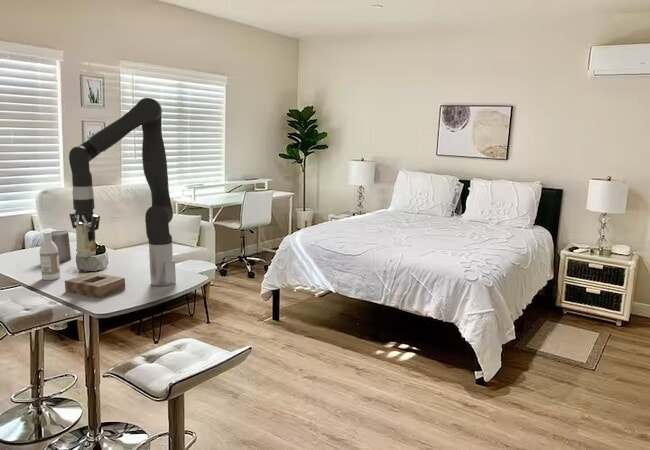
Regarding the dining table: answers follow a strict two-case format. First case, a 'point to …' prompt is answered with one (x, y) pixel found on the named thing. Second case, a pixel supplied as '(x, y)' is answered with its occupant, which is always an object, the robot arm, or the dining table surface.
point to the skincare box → (84, 242)
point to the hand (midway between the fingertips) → (86, 239)
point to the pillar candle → (62, 244)
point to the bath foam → (49, 258)
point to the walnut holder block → (95, 285)
